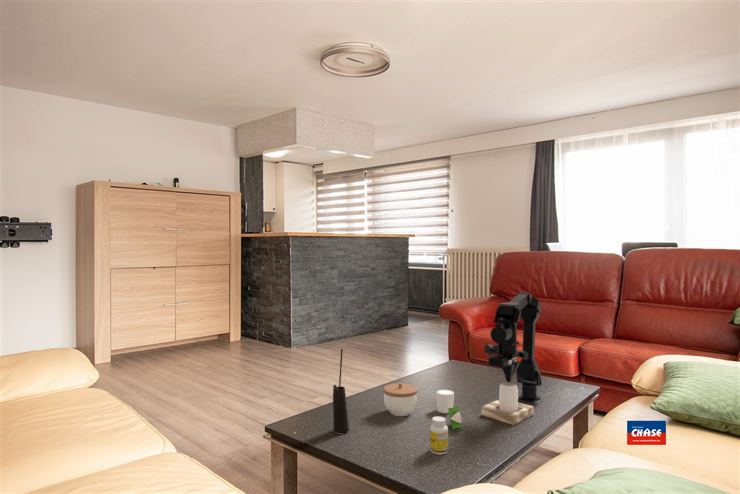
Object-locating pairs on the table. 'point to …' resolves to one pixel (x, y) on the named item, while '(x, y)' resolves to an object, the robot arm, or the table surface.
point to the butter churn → (340, 407)
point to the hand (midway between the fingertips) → (508, 381)
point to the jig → (511, 418)
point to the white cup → (444, 400)
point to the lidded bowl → (400, 398)
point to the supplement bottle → (439, 436)
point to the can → (508, 397)
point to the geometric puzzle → (455, 417)
